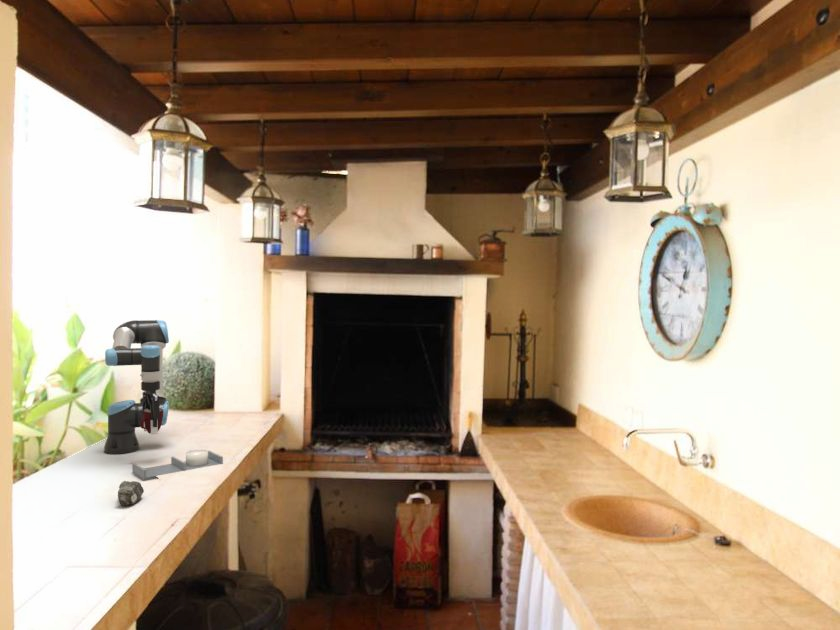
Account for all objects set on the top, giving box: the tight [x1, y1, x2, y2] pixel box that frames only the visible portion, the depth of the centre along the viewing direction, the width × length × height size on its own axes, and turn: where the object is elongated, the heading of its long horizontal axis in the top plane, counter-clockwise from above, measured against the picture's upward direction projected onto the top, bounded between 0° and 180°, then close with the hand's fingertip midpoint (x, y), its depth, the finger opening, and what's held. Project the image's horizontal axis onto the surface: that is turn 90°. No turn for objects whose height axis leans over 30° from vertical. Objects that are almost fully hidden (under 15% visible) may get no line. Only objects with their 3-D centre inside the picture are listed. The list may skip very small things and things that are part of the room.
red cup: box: [139, 408, 163, 434], centre depth 270 cm, size 10×8×10 cm
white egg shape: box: [185, 449, 209, 466], centre depth 268 cm, size 9×9×5 cm
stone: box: [117, 480, 145, 507], centre depth 222 cm, size 14×7×10 cm, turn 21°
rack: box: [131, 450, 224, 482], centre depth 263 cm, size 14×33×4 cm, turn 132°
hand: (150, 432), depth 270 cm, fingers closed on red cup, 8 cm apart
